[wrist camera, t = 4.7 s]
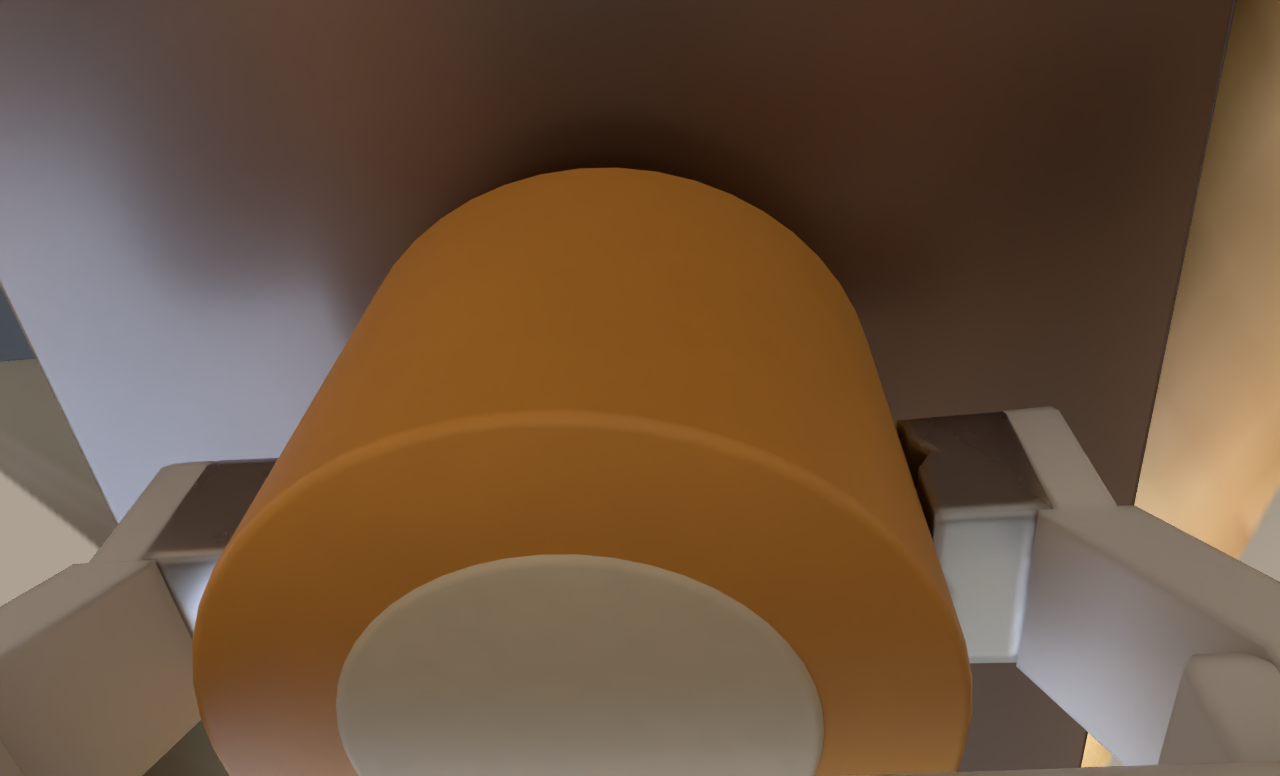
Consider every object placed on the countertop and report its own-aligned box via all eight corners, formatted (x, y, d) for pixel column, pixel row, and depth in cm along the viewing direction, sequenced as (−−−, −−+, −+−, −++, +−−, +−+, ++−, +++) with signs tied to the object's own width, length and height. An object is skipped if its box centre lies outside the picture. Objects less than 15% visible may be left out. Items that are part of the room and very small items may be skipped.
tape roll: (879, 137, 10) (1017, 388, 6) (867, 585, 13) (950, 949, 9) (295, 189, 10) (49, 452, 6) (421, 608, 13) (310, 961, 9)
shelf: (955, -238, 19) (1292, -260, 9) (912, 554, 29) (1042, 968, 19) (252, -154, 20) (-185, -85, 10) (450, 582, 30) (340, 988, 20)
